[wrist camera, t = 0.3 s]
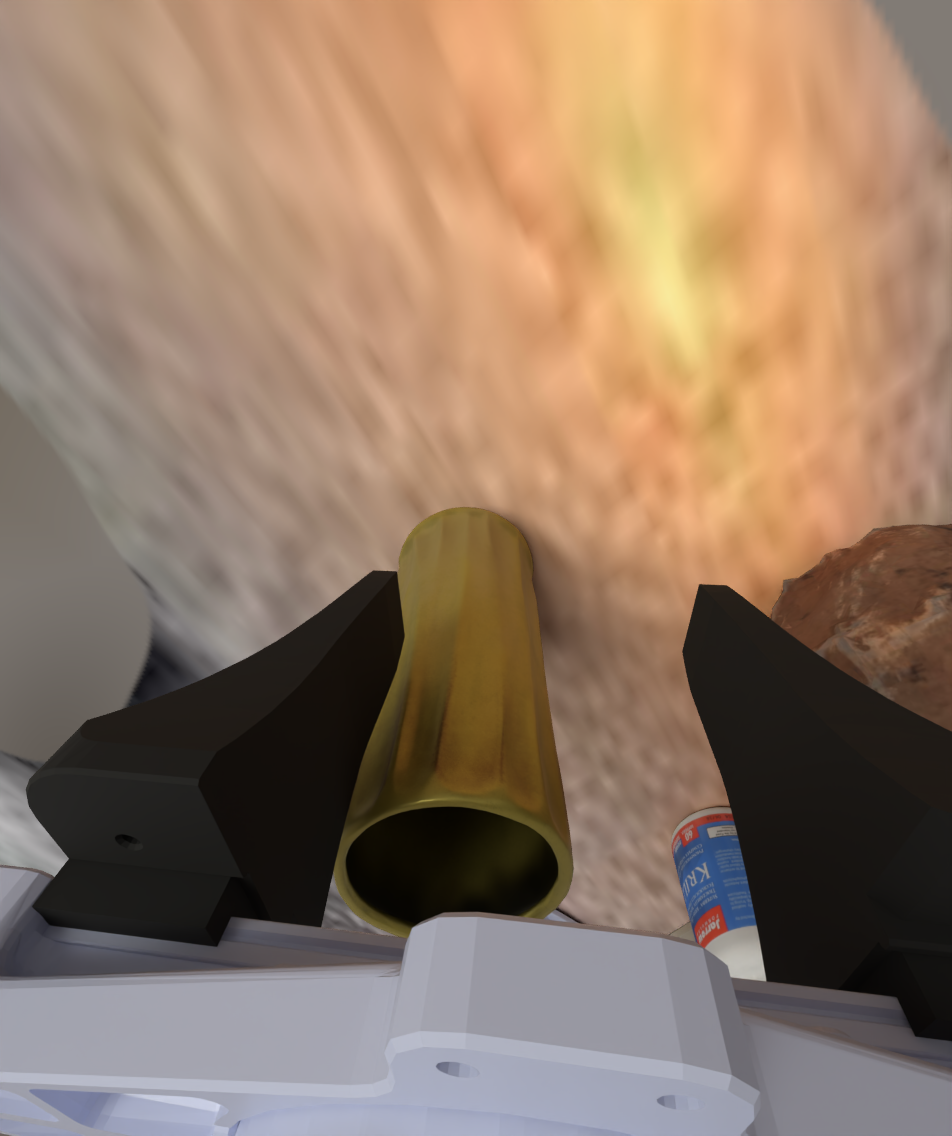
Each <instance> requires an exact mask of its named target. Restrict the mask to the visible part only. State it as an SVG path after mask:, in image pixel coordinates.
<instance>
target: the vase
mask: <svg viewBox="0 0 952 1136" xmlns="http://www.w3.org/2000/svg"><path fill="white" fill-rule="evenodd" d="M532 576H533V561H532V556H531V553H530V549H529V547H528V544H527V542H526V540H525V538H524V537H523V535H522V534H521V532H520V531H519V530H518V529H517V528H516V527H515V526H514V525H512V524H511V523H510V522H509V521H507V520H506V519H504V518H502V517H501V516H499V515H497V514H495V513H493V512H490V511H487V510H484V509H479V508H470V507H460V508H452V509H447V510H443V511H441V512H438V513H436V514H434V515H432V516H430V517H428V518H427V519H425V520H423V521H422V522H421V523H419V524H418V525H417V526H416V527H415V528H414V529H413V531H412V532H411V533H410V534H409V536H408V537H407V539H406V541H405V543H404V545H403V547H402V550H401V553H400V556H399V570H398V583H399V591H400V599H401V608H402V616H403V624H404V632H405V638H404V643H403V647H402V651H401V656H400V659H399V663H398V667H397V671H396V674H395V676H394V679H393V681H392V684H391V687H390V689H389V692H388V694H387V697H386V699H385V702H384V704H383V707H382V710H381V712H380V715H379V717H378V720H377V722H376V725H375V727H374V730H373V732H372V735H371V737H370V740H369V742H368V745H367V748H366V750H365V753H364V756H363V759H362V762H361V766H360V769H359V773H358V776H357V780H356V784H355V787H354V791H353V794H352V798H351V802H350V806H349V810H348V813H347V817H346V821H345V825H344V829H343V833H342V837H341V841H340V845H339V849H338V854H337V858H336V862H335V866H334V871H333V872H334V877H335V883H336V886H337V889H338V892H339V894H340V895H341V897H342V899H343V900H344V901H345V902H346V904H347V905H348V906H349V908H350V909H351V910H352V911H353V912H354V913H355V914H356V915H357V916H358V917H360V918H361V919H363V920H364V921H366V922H368V923H369V924H371V925H373V926H375V927H377V928H379V929H381V930H384V931H386V932H389V933H391V934H393V935H396V936H398V937H404V938H408V937H409V935H410V932H411V930H412V928H413V927H414V926H416V925H417V924H419V923H420V922H422V921H424V920H427V919H429V918H432V917H434V916H437V915H439V914H442V913H450V912H484V913H492V914H501V915H510V916H519V917H528V918H536V919H544V918H545V917H547V916H548V915H549V914H550V913H552V912H553V911H554V910H555V909H556V908H557V907H558V906H559V904H560V903H561V902H562V901H563V899H564V898H565V897H566V895H567V893H568V891H569V888H570V885H571V882H572V876H573V869H574V868H573V857H572V847H571V839H570V830H569V824H568V818H567V811H566V804H565V797H564V791H563V785H562V779H561V773H560V768H559V763H558V757H557V752H556V746H555V740H554V733H553V726H552V719H551V712H550V706H549V699H548V693H547V686H546V678H545V670H544V660H543V651H542V643H541V635H540V626H539V616H538V608H537V601H536V596H535V592H534V588H533V583H532Z"/></svg>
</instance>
